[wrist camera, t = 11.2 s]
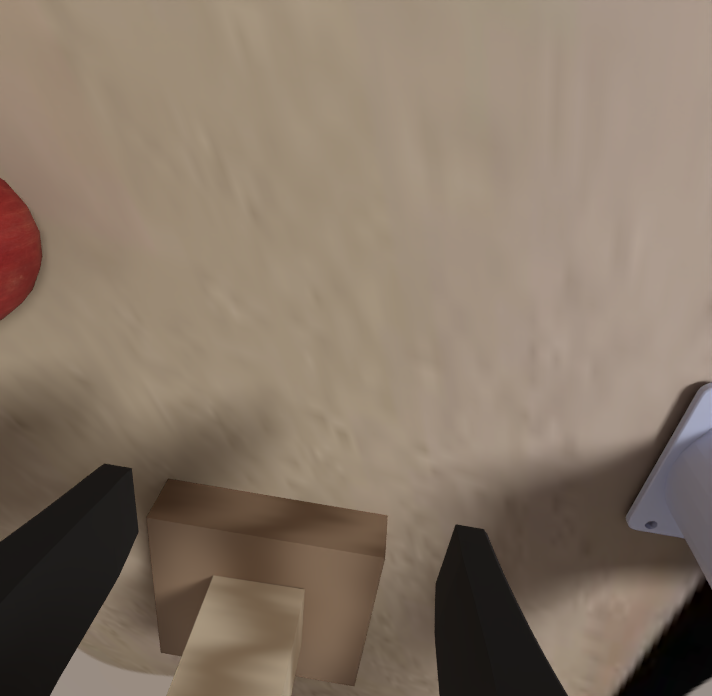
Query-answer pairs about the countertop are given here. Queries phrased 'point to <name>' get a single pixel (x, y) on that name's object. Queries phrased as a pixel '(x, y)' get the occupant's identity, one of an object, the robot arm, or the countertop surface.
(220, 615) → the beech block
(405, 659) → the countertop surface
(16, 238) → the onion
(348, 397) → the countertop surface
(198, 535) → the walnut block
